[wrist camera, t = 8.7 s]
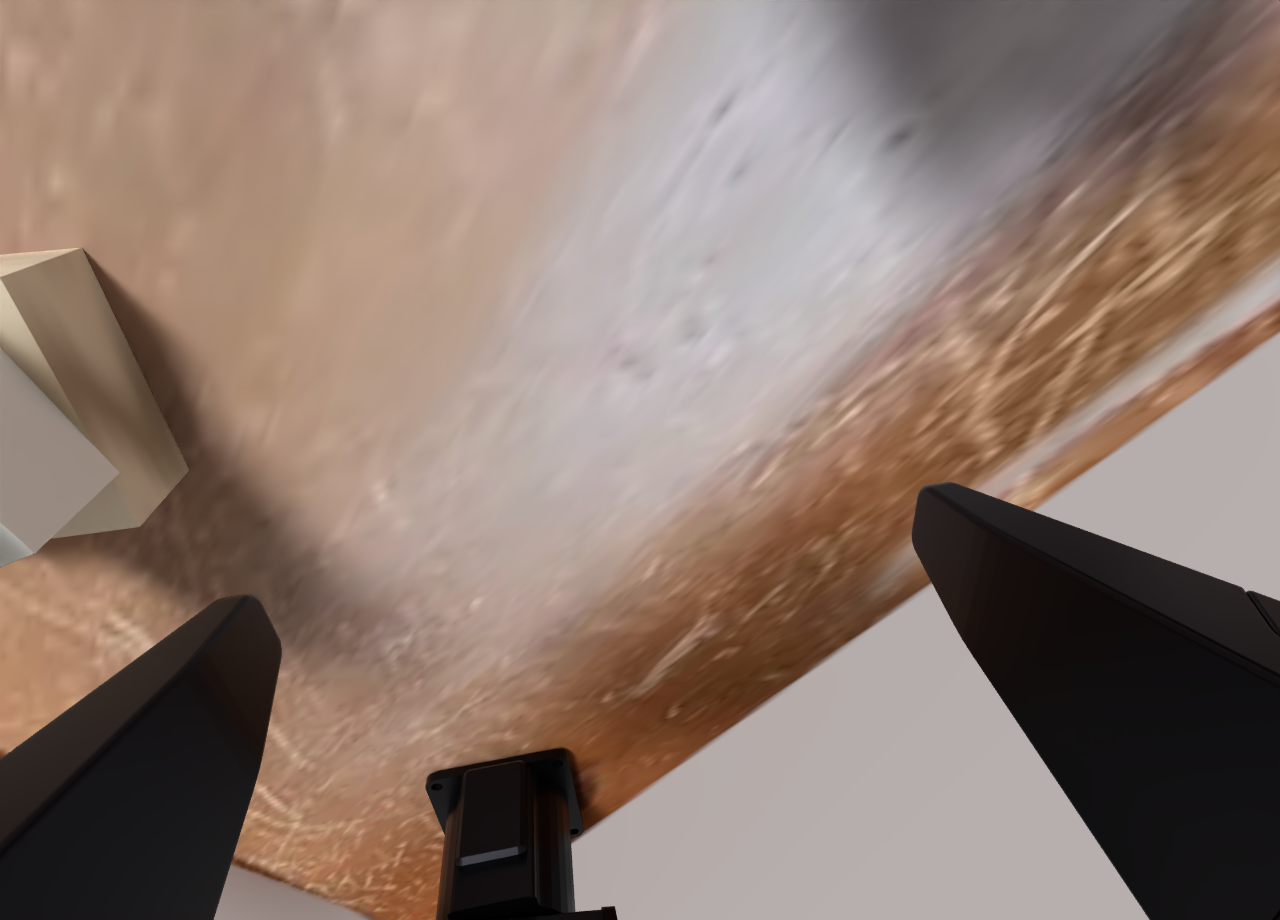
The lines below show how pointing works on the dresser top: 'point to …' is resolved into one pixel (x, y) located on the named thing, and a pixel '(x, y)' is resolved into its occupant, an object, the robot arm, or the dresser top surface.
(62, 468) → the tower mid
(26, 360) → the tower base
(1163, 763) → the robot arm
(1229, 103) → the dresser top surface
